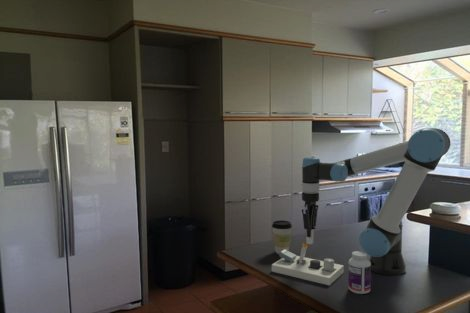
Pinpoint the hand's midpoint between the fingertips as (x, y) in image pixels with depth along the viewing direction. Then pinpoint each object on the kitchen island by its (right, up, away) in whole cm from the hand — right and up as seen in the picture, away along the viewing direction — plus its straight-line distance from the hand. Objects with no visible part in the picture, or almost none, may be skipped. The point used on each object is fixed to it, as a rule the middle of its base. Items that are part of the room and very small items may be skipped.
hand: (309, 243), depth 172 cm
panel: (-3, -10, -9) cm, 14 cm away
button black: (0, -9, -11) cm, 14 cm away
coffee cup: (-11, -8, +16) cm, 21 cm away
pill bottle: (+13, -12, -28) cm, 33 cm away
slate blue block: (-11, -5, -4) cm, 12 cm away
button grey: (+5, -8, -15) cm, 17 cm away
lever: (-5, -6, -7) cm, 11 cm away
